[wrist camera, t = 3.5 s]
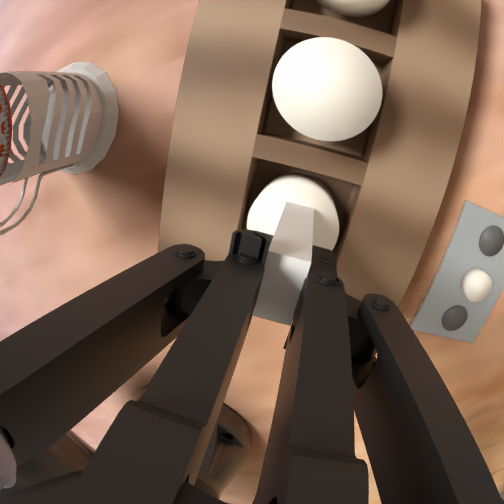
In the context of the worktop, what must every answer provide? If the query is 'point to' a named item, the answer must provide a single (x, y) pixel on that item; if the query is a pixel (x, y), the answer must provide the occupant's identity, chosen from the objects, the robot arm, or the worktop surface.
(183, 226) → the board
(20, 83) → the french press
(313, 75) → the button
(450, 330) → the card
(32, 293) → the worktop surface
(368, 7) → the button
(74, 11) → the worktop surface
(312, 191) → the button
